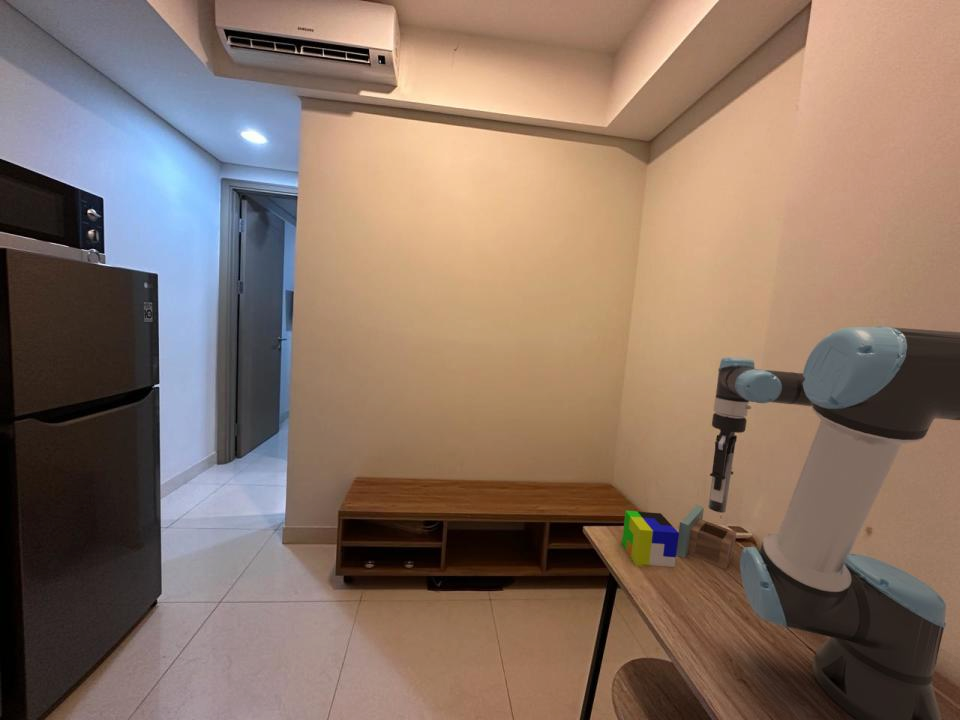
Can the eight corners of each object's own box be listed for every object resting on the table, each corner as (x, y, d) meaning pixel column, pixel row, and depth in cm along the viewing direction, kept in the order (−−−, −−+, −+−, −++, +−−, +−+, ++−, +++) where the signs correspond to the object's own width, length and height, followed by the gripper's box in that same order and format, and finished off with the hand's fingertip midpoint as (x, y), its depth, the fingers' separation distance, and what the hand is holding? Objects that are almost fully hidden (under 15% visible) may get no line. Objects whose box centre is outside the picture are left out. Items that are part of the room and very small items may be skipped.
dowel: (706, 508, 101) (714, 451, 100) (710, 503, 104) (717, 449, 102) (723, 514, 98) (731, 456, 97) (727, 509, 101) (735, 453, 100)
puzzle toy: (674, 569, 96) (678, 532, 95) (635, 566, 96) (640, 529, 95) (656, 546, 106) (660, 513, 105) (621, 543, 106) (625, 510, 105)
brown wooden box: (725, 569, 96) (729, 544, 95) (687, 553, 102) (690, 529, 102) (732, 556, 102) (736, 532, 102) (696, 541, 109) (699, 518, 108)
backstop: (762, 596, 88) (768, 556, 87) (675, 556, 101) (679, 522, 100) (771, 568, 99) (777, 532, 98) (692, 536, 113) (696, 504, 112)
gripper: (740, 422, 90) (727, 513, 92) (752, 414, 102) (740, 494, 104) (705, 415, 95) (694, 502, 97) (721, 408, 107) (710, 485, 109)
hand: (718, 498), depth 101 cm, fingers closed on dowel, 4 cm apart
